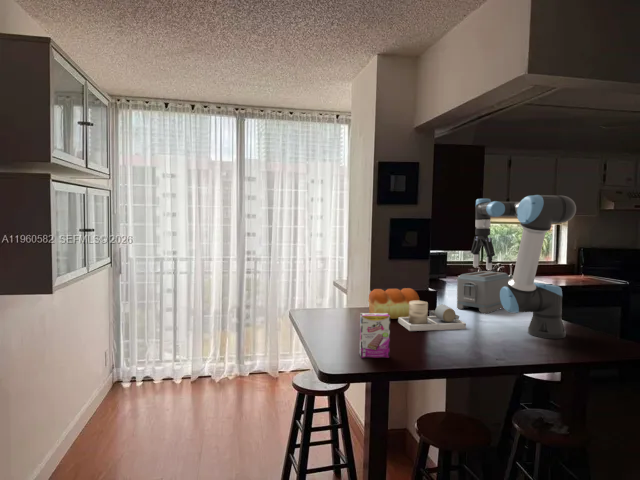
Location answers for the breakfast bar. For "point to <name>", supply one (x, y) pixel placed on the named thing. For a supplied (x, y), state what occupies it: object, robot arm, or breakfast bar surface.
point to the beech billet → (418, 312)
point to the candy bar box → (374, 335)
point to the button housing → (432, 313)
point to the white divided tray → (432, 324)
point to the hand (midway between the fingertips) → (482, 267)
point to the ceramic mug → (445, 313)
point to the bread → (392, 301)
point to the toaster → (481, 290)
